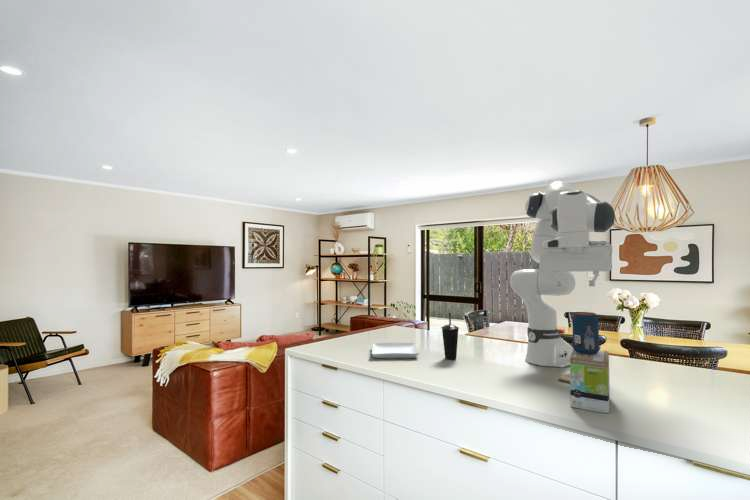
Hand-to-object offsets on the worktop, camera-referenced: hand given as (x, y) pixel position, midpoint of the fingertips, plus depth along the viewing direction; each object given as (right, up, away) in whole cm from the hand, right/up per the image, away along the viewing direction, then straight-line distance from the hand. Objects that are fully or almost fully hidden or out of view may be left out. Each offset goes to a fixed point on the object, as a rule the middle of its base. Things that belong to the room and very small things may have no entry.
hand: (574, 286), depth 118 cm
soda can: (+1, -20, -4) cm, 20 cm away
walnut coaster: (+10, -35, +16) cm, 40 cm away
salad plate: (-53, -38, +59) cm, 88 cm away
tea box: (+2, -35, -4) cm, 35 cm away
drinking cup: (-29, -37, +49) cm, 68 cm away
